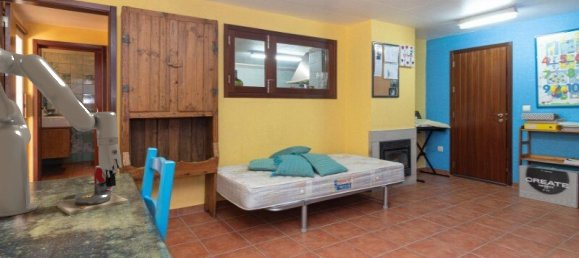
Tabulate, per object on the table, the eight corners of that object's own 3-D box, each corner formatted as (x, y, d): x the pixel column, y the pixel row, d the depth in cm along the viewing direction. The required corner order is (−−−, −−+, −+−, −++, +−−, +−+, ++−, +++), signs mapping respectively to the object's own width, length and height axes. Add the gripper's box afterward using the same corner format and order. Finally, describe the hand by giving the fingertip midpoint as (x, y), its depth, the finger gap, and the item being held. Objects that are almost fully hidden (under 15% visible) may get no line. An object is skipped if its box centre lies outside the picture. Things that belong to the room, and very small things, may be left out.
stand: (69, 215, 116) (69, 206, 115) (57, 206, 126) (56, 198, 126) (128, 202, 131) (128, 194, 130) (112, 195, 141) (112, 188, 141)
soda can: (99, 195, 143) (97, 167, 142) (92, 192, 147) (90, 166, 146) (115, 191, 148) (114, 165, 148) (108, 189, 153) (107, 164, 152)
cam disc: (110, 202, 126) (109, 187, 125) (72, 206, 120) (71, 191, 120) (111, 193, 139) (110, 180, 138) (77, 197, 133) (76, 183, 133)
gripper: (126, 141, 133) (129, 186, 134) (108, 140, 142) (111, 182, 143) (107, 143, 127) (110, 190, 128) (89, 142, 136) (93, 186, 137)
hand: (111, 186), depth 136 cm, fingers closed
